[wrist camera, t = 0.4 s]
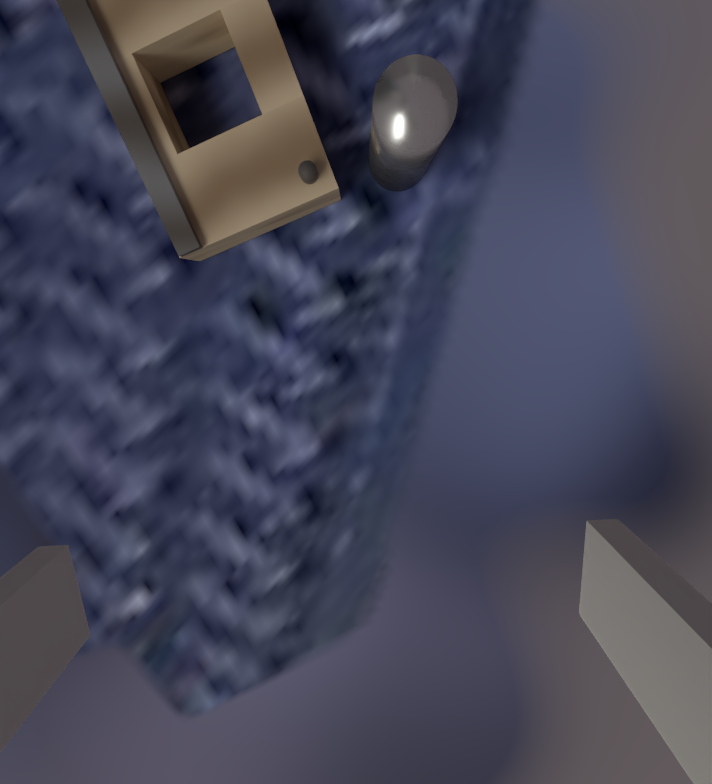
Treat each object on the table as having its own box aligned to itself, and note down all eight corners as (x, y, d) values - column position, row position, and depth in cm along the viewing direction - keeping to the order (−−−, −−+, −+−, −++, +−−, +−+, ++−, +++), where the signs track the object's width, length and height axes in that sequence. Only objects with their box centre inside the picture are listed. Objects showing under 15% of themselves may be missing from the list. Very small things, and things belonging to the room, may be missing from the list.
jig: (83, 11, 30) (29, -44, 25) (238, -69, 29) (214, -142, 24) (200, 261, 34) (173, 256, 29) (340, 199, 33) (337, 184, 28)
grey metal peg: (359, 141, 32) (360, 76, 22) (415, 116, 31) (441, 39, 21) (380, 200, 33) (390, 164, 23) (435, 177, 32) (468, 129, 22)
